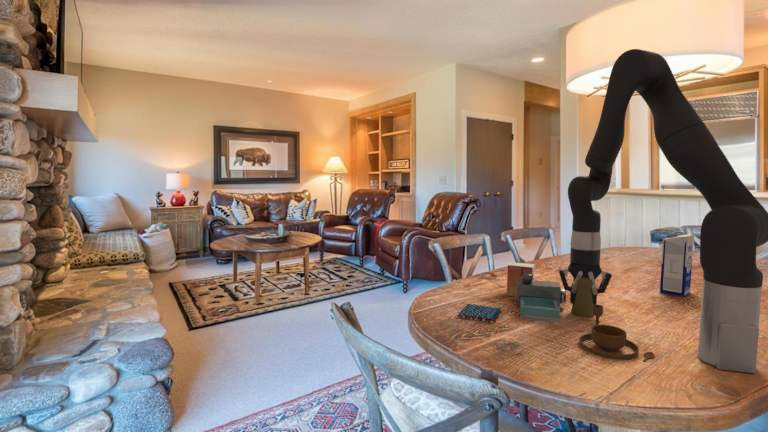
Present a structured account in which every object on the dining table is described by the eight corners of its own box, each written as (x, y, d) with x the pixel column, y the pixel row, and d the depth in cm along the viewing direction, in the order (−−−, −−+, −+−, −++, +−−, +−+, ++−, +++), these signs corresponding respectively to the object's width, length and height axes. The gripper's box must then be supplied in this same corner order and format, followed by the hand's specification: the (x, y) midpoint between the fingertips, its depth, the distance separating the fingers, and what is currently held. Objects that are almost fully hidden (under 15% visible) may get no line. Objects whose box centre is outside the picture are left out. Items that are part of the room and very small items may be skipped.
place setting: (557, 345, 94) (558, 321, 93) (591, 324, 107) (592, 303, 106) (642, 372, 81) (643, 344, 80) (669, 344, 94) (670, 320, 93)
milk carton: (684, 296, 128) (688, 235, 126) (659, 292, 133) (663, 233, 131) (690, 292, 133) (694, 233, 131) (666, 288, 138) (669, 231, 136)
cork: (597, 317, 111) (599, 278, 109) (574, 316, 112) (575, 278, 111) (590, 310, 116) (592, 273, 115) (568, 309, 118) (570, 272, 117)
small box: (506, 296, 131) (506, 264, 130) (509, 291, 136) (510, 261, 135) (531, 299, 127) (532, 267, 126) (534, 294, 132) (535, 263, 131)
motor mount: (570, 323, 106) (571, 289, 105) (516, 318, 110) (517, 285, 110) (563, 304, 122) (564, 274, 121) (517, 300, 126) (517, 271, 125)
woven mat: (466, 308, 121) (466, 302, 121) (502, 313, 116) (502, 307, 116) (456, 319, 112) (456, 312, 111) (494, 325, 107) (495, 318, 107)
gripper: (559, 247, 111) (557, 307, 113) (617, 250, 106) (614, 312, 108) (556, 243, 118) (555, 299, 120) (610, 245, 113) (608, 304, 115)
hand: (583, 305), depth 114 cm, fingers closed on cork, 4 cm apart
